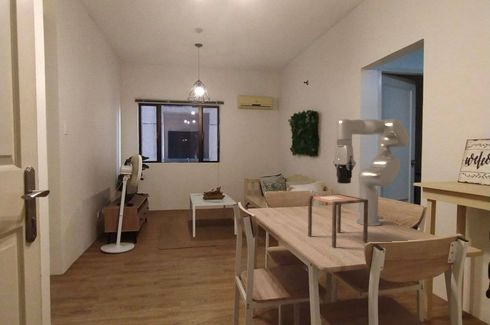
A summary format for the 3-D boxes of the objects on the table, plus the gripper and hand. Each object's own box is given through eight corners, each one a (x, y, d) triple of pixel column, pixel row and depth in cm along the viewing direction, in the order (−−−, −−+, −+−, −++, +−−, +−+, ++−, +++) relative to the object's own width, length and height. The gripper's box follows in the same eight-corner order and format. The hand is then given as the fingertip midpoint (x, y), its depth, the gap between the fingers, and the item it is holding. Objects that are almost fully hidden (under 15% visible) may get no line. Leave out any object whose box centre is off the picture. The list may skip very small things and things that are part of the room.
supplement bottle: (347, 182, 159) (348, 160, 159) (352, 183, 152) (353, 160, 152) (335, 182, 159) (335, 160, 158) (339, 183, 152) (340, 160, 152)
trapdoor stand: (338, 232, 150) (339, 194, 149) (367, 242, 133) (368, 199, 132) (308, 236, 143) (308, 196, 142) (333, 247, 126) (334, 202, 125)
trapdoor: (339, 196, 147) (339, 194, 147) (361, 201, 133) (361, 198, 133) (313, 198, 141) (313, 196, 141) (334, 203, 127) (334, 201, 127)
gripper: (327, 143, 161) (327, 176, 162) (350, 142, 145) (350, 178, 146) (338, 143, 164) (338, 175, 165) (362, 142, 148) (361, 178, 149)
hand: (344, 176), depth 155 cm, fingers closed on supplement bottle, 6 cm apart
